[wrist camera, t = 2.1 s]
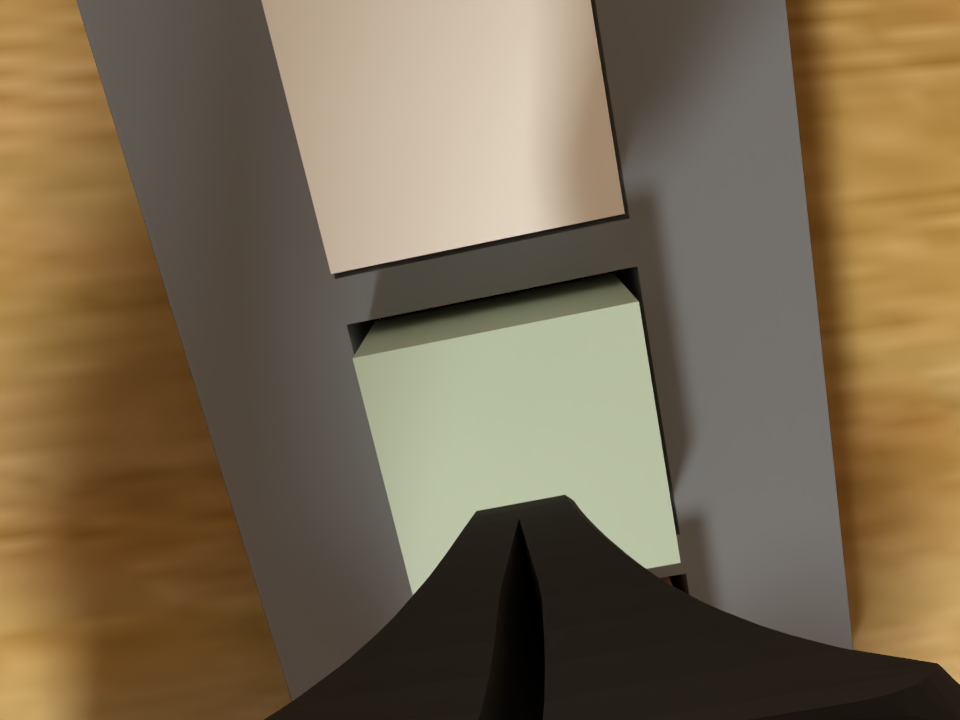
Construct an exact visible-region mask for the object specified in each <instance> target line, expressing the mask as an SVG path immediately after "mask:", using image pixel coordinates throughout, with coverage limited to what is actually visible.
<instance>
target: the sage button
mask: <svg viewBox="0 0 960 720" xmlns="http://www.w3.org/2000/svg"><path fill="white" fill-rule="evenodd" d="M352 359H353V362H354V366H355V370H356V374H357V378H358V382H359V386H360V390H361V394H362V398H363V402H364V406H365V410H366V414H367V418H368V421H369V425H370V429H371V433H372V437H373V441H374V445H375V449H376V453H377V457H378V461H379V465H380V469H381V473H382V476H383V480H384V484H385V488H386V492H387V496H388V500H389V504H390V508H391V512H392V516H393V520H394V524H395V528H396V532H397V535H398V539H399V543H400V547H401V551H402V555H403V559H404V563H405V567H406V571H407V575H408V579H409V583H410V587H411V590H412V594H413V595H414V593H415V592H416V591H417V590H418V589H419V588H420V586H421V585H422V584H423V583H424V582H425V581H426V580H427V578H428V577H429V576H430V575H431V573H432V572H433V571H434V569H435V568H436V567H437V565H438V564H439V563H440V561H441V560H442V559H443V557H444V556H445V555H446V553H447V552H448V550H449V549H450V547H451V546H452V545H453V543H454V542H455V540H456V539H457V537H458V536H459V534H460V533H461V532H462V530H463V529H464V527H465V526H466V525H467V523H468V522H469V520H470V519H471V518H472V516H473V515H474V514H475V512H476V511H479V510H485V509H490V508H496V507H501V506H506V505H512V504H517V503H523V502H528V501H533V500H539V499H544V498H550V497H555V496H561V495H566V496H568V497H569V498H571V499H572V500H574V501H575V503H576V504H577V506H578V507H579V508H580V510H581V511H582V512H583V513H584V514H585V515H586V517H587V518H588V519H589V520H590V521H591V522H592V523H593V524H594V525H595V526H596V527H597V528H598V529H599V530H600V531H601V532H602V533H603V534H604V535H605V536H606V537H608V538H609V539H610V540H611V541H612V542H613V543H615V544H616V545H617V546H618V547H619V548H620V549H622V550H623V551H624V552H625V553H626V554H627V555H629V556H630V557H631V558H632V559H634V560H635V561H636V562H638V563H639V564H640V565H642V566H643V567H644V568H646V569H648V568H654V567H660V566H665V565H671V564H676V563H681V562H680V556H679V549H678V543H677V537H676V531H675V524H674V518H673V512H672V506H671V499H670V493H669V487H668V481H667V474H666V468H665V462H664V456H663V449H662V443H661V437H660V431H659V424H658V418H657V412H656V406H655V399H654V393H653V387H652V381H651V375H650V368H649V362H648V356H647V350H646V343H645V337H644V331H643V325H642V318H641V312H640V306H639V301H638V300H637V299H636V298H635V297H634V296H633V294H632V293H631V292H630V291H629V290H628V289H627V288H626V287H625V285H624V284H623V283H622V282H621V281H620V280H619V279H618V278H617V277H616V275H615V274H614V273H611V274H606V275H602V276H597V277H592V278H587V279H582V280H577V281H572V282H567V283H562V284H557V285H552V286H547V287H542V288H537V289H532V290H527V291H522V292H517V293H512V294H507V295H502V296H497V297H492V298H487V299H482V300H477V301H472V302H467V303H462V304H457V305H453V306H448V307H443V308H438V309H433V310H428V311H423V312H418V313H413V314H408V315H403V316H398V317H393V318H388V319H383V320H378V321H375V322H374V324H373V326H372V327H371V329H370V330H369V332H368V334H367V335H366V337H365V339H364V340H363V342H362V344H361V345H360V347H359V348H358V350H357V352H356V353H355V355H354V357H353V358H352Z"/></svg>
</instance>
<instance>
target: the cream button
mask: <svg viewBox="0 0 960 720" xmlns="http://www.w3.org/2000/svg"><path fill="white" fill-rule="evenodd" d="M261 1H262V5H263V9H264V13H265V16H266V20H267V24H268V28H269V32H270V36H271V40H272V44H273V48H274V52H275V56H276V60H277V64H278V68H279V72H280V75H281V79H282V83H283V87H284V91H285V95H286V99H287V103H288V107H289V111H290V115H291V119H292V123H293V127H294V131H295V134H296V138H297V142H298V146H299V150H300V154H301V158H302V162H303V166H304V170H305V174H306V178H307V182H308V186H309V189H310V193H311V197H312V201H313V205H314V209H315V213H316V217H317V221H318V225H319V229H320V233H321V237H322V241H323V245H324V248H325V252H326V256H327V260H328V264H329V268H330V272H331V274H334V273H339V272H344V271H348V270H353V269H358V268H363V267H368V266H373V265H378V264H382V263H387V262H392V261H397V260H402V259H407V258H412V257H417V256H421V255H426V254H431V253H436V252H441V251H446V250H451V249H455V248H460V247H465V246H470V245H475V244H480V243H485V242H489V241H494V240H499V239H504V238H509V237H514V236H519V235H523V234H528V233H533V232H538V231H543V230H548V229H553V228H558V227H562V226H567V225H572V224H577V223H582V222H587V221H592V220H596V219H601V218H606V217H611V216H616V215H621V214H625V212H624V206H623V200H622V193H621V187H620V181H619V175H618V168H617V162H616V156H615V150H614V143H613V137H612V131H611V125H610V118H609V112H608V106H607V100H606V94H605V87H604V81H603V75H602V69H601V62H600V56H599V50H598V44H597V37H596V31H595V25H594V19H593V12H592V6H591V0H261Z"/></svg>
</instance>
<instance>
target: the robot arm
mask: <svg viewBox="0 0 960 720" xmlns="http://www.w3.org/2000/svg"><path fill="white" fill-rule="evenodd" d="M265 720H960V684H958V683H957V682H956V681H955V680H954V679H953V678H952V677H951V676H950V675H949V674H948V673H947V672H946V671H945V670H944V669H943V668H942V667H941V666H940V665H939V664H937V663H931V662H925V661H918V660H912V659H906V658H900V657H894V656H887V655H881V654H875V653H869V652H862V651H856V650H850V649H845V648H840V647H836V646H832V645H828V644H824V643H820V642H816V641H812V640H808V639H805V638H801V637H797V636H793V635H789V634H786V633H783V632H780V631H777V630H773V629H770V628H767V627H764V626H761V625H758V624H756V623H753V622H750V621H748V620H745V619H743V618H740V617H737V616H735V615H732V614H730V613H727V612H725V611H722V610H720V609H717V608H715V607H713V606H711V605H709V604H706V603H704V602H702V601H700V600H698V599H696V598H694V597H692V596H691V595H689V594H687V593H685V592H683V591H681V590H679V589H677V588H676V587H674V586H672V585H670V584H668V583H666V582H665V581H663V580H662V579H660V578H659V577H657V576H656V575H654V574H653V573H651V572H650V571H649V570H647V569H646V568H644V567H643V566H642V565H640V564H639V563H638V562H636V561H635V560H634V559H632V558H631V557H630V556H629V555H627V554H626V553H625V552H624V551H623V550H622V549H620V548H619V547H618V546H617V545H616V544H615V543H613V542H612V541H611V540H610V539H609V538H608V537H606V536H605V535H604V534H603V533H602V532H601V531H600V530H599V529H598V528H597V527H596V526H595V525H594V524H593V523H592V522H591V521H590V520H589V519H588V518H587V517H586V515H585V514H584V513H583V512H582V511H581V510H580V508H579V507H578V506H577V504H576V503H575V501H574V500H572V499H571V498H569V497H568V496H566V495H561V496H555V497H550V498H544V499H539V500H533V501H528V502H523V503H517V504H512V505H506V506H501V507H496V508H490V509H485V510H479V511H476V512H475V514H474V515H473V516H472V518H471V519H470V520H469V522H468V523H467V525H466V526H465V527H464V529H463V530H462V532H461V533H460V534H459V536H458V537H457V539H456V540H455V542H454V543H453V545H452V546H451V547H450V549H449V550H448V552H447V553H446V555H445V556H444V557H443V559H442V560H441V561H440V563H439V564H438V565H437V567H436V568H435V569H434V571H433V572H432V573H431V575H430V576H429V577H428V578H427V580H426V581H425V582H424V583H423V584H422V585H421V586H420V588H419V589H418V590H417V591H416V592H415V593H414V595H413V596H412V597H411V598H410V599H409V600H408V602H407V603H406V604H405V605H404V606H403V607H402V608H401V610H400V611H399V612H398V613H397V614H396V615H395V616H394V617H393V618H392V619H391V620H390V621H389V622H388V623H387V624H386V625H385V626H384V627H383V628H382V629H381V630H380V631H379V632H378V633H377V634H376V635H375V636H374V637H373V638H372V639H371V640H370V641H368V642H367V643H366V644H365V645H364V646H363V647H362V648H361V649H360V650H358V651H357V652H356V653H355V654H354V655H353V656H352V657H351V658H349V659H348V660H347V661H346V662H345V663H343V664H342V665H341V666H340V667H338V668H337V669H336V670H334V671H333V672H331V673H330V674H329V675H327V676H326V677H325V678H323V679H322V680H321V681H319V682H318V683H317V684H315V685H314V686H313V687H311V688H310V689H308V690H307V691H306V692H304V693H303V694H302V695H300V696H299V697H298V698H296V699H295V700H294V701H292V702H291V703H289V704H288V705H286V706H285V707H283V708H282V709H280V710H279V711H277V712H276V713H274V714H273V715H271V716H269V717H268V718H266V719H265Z"/></svg>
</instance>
